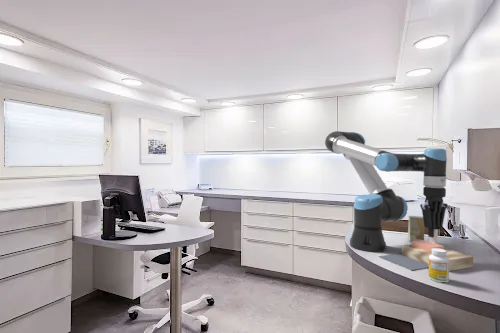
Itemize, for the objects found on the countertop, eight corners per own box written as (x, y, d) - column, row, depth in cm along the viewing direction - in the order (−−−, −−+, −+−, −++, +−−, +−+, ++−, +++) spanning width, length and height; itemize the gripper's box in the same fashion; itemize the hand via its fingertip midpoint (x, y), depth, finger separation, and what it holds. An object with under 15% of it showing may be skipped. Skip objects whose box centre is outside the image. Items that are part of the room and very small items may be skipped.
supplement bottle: (434, 275, 93) (434, 246, 93) (452, 281, 88) (452, 251, 88) (425, 278, 90) (425, 248, 90) (443, 284, 85) (443, 253, 85)
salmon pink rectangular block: (411, 245, 112) (411, 241, 112) (421, 244, 114) (421, 239, 114) (432, 252, 104) (433, 247, 104) (443, 251, 106) (443, 245, 106)
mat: (378, 256, 110) (378, 256, 110) (398, 254, 114) (398, 253, 114) (412, 270, 96) (412, 269, 96) (433, 267, 100) (433, 266, 100)
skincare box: (409, 242, 132) (410, 217, 132) (407, 239, 136) (407, 215, 136) (424, 243, 130) (425, 217, 130) (422, 241, 134) (422, 216, 134)
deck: (402, 255, 113) (402, 245, 113) (426, 251, 117) (426, 242, 117) (446, 271, 96) (446, 260, 96) (473, 266, 101) (473, 256, 100)
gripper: (432, 188, 104) (430, 249, 105) (454, 187, 109) (453, 245, 109) (414, 186, 111) (413, 243, 112) (436, 185, 116) (434, 240, 116)
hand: (432, 244), depth 111 cm, fingers closed
